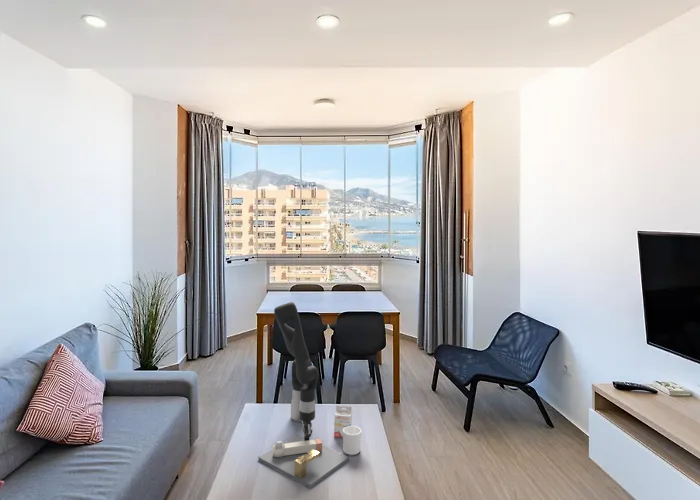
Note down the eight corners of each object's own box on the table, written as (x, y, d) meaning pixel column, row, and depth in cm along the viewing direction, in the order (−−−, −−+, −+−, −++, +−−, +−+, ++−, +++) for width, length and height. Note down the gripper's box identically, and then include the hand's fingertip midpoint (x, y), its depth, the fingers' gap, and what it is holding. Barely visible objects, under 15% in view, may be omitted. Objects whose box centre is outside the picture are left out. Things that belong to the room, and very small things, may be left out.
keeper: (294, 478, 174) (294, 460, 173) (312, 466, 183) (313, 449, 183) (301, 482, 171) (301, 463, 171) (319, 469, 181) (319, 452, 180)
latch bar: (273, 458, 185) (273, 446, 185) (272, 451, 191) (272, 440, 190) (322, 451, 192) (322, 439, 192) (319, 445, 198) (320, 433, 197)
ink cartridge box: (333, 437, 209) (334, 409, 208) (335, 432, 214) (335, 405, 213) (350, 438, 208) (351, 410, 207) (351, 433, 213) (352, 406, 212)
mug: (359, 457, 191) (359, 436, 191) (340, 455, 193) (341, 433, 192) (363, 445, 202) (363, 425, 201) (345, 443, 204) (345, 423, 203)
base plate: (258, 460, 187) (258, 457, 187) (298, 437, 208) (298, 434, 208) (310, 488, 168) (310, 484, 168) (348, 460, 189) (348, 457, 188)
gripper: (297, 403, 201) (296, 437, 202) (302, 415, 188) (301, 452, 189) (312, 401, 203) (311, 435, 204) (318, 413, 190) (317, 449, 192)
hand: (306, 443), depth 197 cm, fingers closed
